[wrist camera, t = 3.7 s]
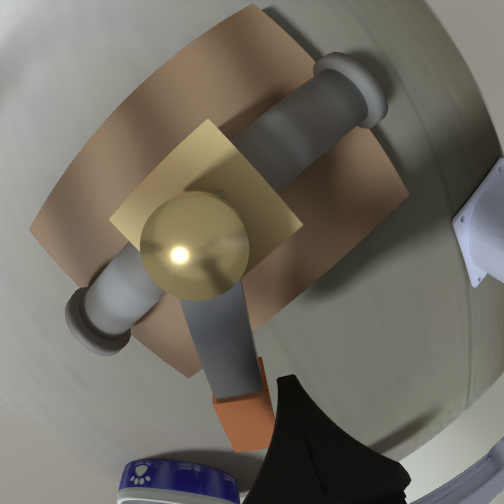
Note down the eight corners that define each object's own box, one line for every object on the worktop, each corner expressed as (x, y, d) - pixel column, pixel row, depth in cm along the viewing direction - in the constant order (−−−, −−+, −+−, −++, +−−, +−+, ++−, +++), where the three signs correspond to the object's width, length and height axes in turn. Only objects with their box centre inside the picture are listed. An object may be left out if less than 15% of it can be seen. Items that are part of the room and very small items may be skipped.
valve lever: (156, 193, 9) (127, 209, 6) (233, 177, 9) (238, 184, 6) (228, 418, 12) (231, 464, 10) (277, 409, 12) (288, 454, 10)
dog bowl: (172, 501, 28) (171, 530, 22) (100, 460, 23) (91, 496, 17) (258, 488, 27) (263, 522, 21) (193, 448, 22) (191, 497, 16)
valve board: (250, 15, 11) (262, -39, 6) (396, 191, 15) (455, 207, 10) (41, 224, 14) (-12, 250, 9) (190, 363, 18) (183, 424, 13)
